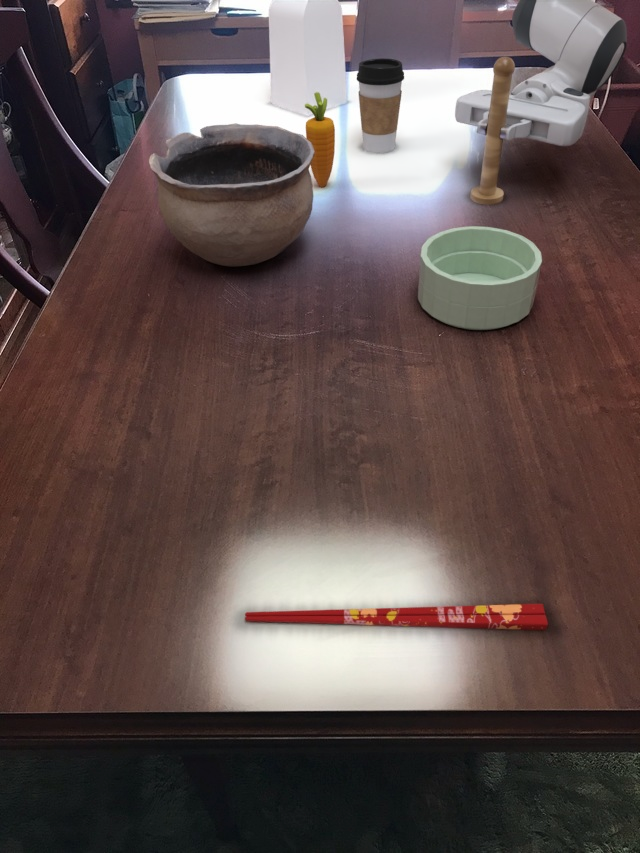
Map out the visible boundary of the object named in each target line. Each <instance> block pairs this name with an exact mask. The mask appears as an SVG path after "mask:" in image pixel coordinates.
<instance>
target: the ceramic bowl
mask: <svg viewBox="0 0 640 853" xmlns="http://www.w3.org/2000/svg"><path fill="white" fill-rule="evenodd" d="M199 133H200V136H198V135H195V134H193V133H192V132H181V133H178V134H177V135H175V136H174V137H171V138H168V139H166V140H165V145H166V155H165V157H163V156H160V155H158V154H157V153H156V152H153V153H152V154H150V156H149V159H148V165H149V166H150V169H151V171H152V172H153V174H154V175H155V177H156V180H157V181H158V182H157V200H158V201H157V202H158V208H159V211H160V215H161V217H162V219H163V222H164V224H165V226H166V227H167V228H168V230H169V231H170V232H171V233H172V235H173V236H174V238H175V239H176V240H177V241H178V242H179V243H180V244H181V245H182V246H184V247H185V248H186V249H187V250H189V252H191V253H193V254H194V255H196V256H198V257H199V258H200V259H201V258H202V259H203V260H204V261H206V262H209V263H212V264H214V265H218V266H222V267H246V266H252V265H256V264H257V265H258V264H259V263H262V262H266V261H268V260H270V259H272V258H274V257H276V256H278V255H279V254H281V253H282V252H283V251H284V250H286V249H287V247H289V246H290V245H291V244H292V243H293V242H294V241H296V240H297V239H298V238H299V236H300V235H301V234H302V232H303V231H304V229H305V227H306V225H307V223H308V221H309V220H310V217H311V214H312V211H313V205H314V204H313V203H314V187H313V180H312V175H311V173H310V172H311V171H310V168H311V165H310V164H311V162H312V159H313V156H314V152H315V151H314V148H313V146H312V143H311V142H310V141H308V140H307V139H306V136H304V135H303V134H301V133H296V132H292V131H290V130H288V129H286V128H282V127H280V126H277V125H266V124H265V125H264V124H239V123H229V124H215V125H207V126H204V127H201V128H200V130H199Z"/></svg>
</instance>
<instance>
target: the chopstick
mask: <svg viewBox="0 0 640 853" xmlns="http://www.w3.org/2000/svg"><path fill="white" fill-rule="evenodd" d="M244 616H245V617H244V620H245V621H246V622H266V623H269V622H270V623H271V622H272V623H298V624H299V623H300V624H301V623H303V624H304V623H305V624H310V623H311V624H329V625H330V624H333V625H335V624H336V625H361V626H362V625H365V626H368V625H369V626H393V627H395V626H396V627H397V626H398V627H423V628H424V627H427V628H429V627H431V628H454V629H455V628H459V629H465V628H466V629H492V630H493V629H495V630H526V631H527V630H528V631H546V630H547V628H548V625H549V623H548V618H547V616H546V611H545V607H544V604H543V603H523V604H522V603H519V604H517V603H515V604H485V605H484V604H483V605H482V604H481V605H449V606H448V605H447V606H415V607H382V608H379V607H378V608H376V607H375V608H347V609H345V608H344V609H313V610H312V609H311V610H307V609H306V610H280V611H279V610H277V611H246V612H245V614H244Z"/></svg>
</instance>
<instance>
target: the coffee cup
mask: <svg viewBox="0 0 640 853" xmlns="http://www.w3.org/2000/svg"><path fill="white" fill-rule="evenodd" d="M403 68H404V67H403V62H401V61H400V60H398V59H395V58H394V59H393V58H381V57H380V58H371V59H367V60H363V61H360V62H359V63H358V71H357V74H356V81H357V82H358V103H359V113H360V114H359V115H360V126H361V137H362V138H361V139H362V149H363V151H365V152H367V153H370V154H386V153H387V154H388V153H391V152H393V151H394V150H395V148H396V139H397V130H398V124H399V116H400V108H401V101H402V94H403V90H402V82H403V81H404V80H405V71H404V69H403Z"/></svg>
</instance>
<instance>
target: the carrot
mask: <svg viewBox="0 0 640 853" xmlns="http://www.w3.org/2000/svg"><path fill="white" fill-rule="evenodd" d="M314 95H315V99H316V102H317V105H318V107H317V106H316V105H314V106H312V105H310V104H305V108H307V109H309V110H310V111H311V112H312V113H313V117H312V118H309V119H308V120H307V121H306V122H305V138H306V139H307V140H308V141H310V142H311V143H312V146H313V148H314V151H315V152H314V156H313V159H312V162H311V164H310V169H311V172H312V175H313V178H314V180H315V182H316V184H317V186H318V187H320V188H325V187H326V186H327V184H328V182H329V180H330V177H331V174H332V170H333V165H334V160H335V147H336V145H335V144H336V129H335V123H334V120H333V119H332V118H330V117H328V116H325V114H326V111H327V110H326V106H327V99H326V98H324V99H323V103H322V100H321V96H320V93H319V92H316V93H315V94H314Z"/></svg>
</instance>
